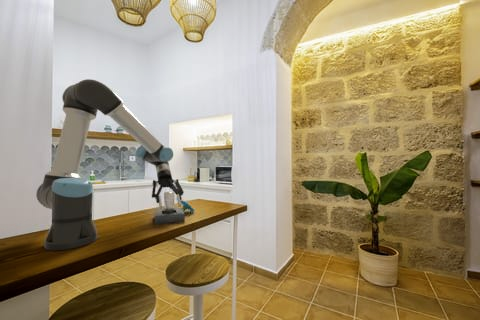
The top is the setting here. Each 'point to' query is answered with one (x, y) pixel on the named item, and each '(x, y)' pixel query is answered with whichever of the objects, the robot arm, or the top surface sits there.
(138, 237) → the top surface
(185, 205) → the teal irregular piece
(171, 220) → the block
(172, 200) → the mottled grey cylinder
